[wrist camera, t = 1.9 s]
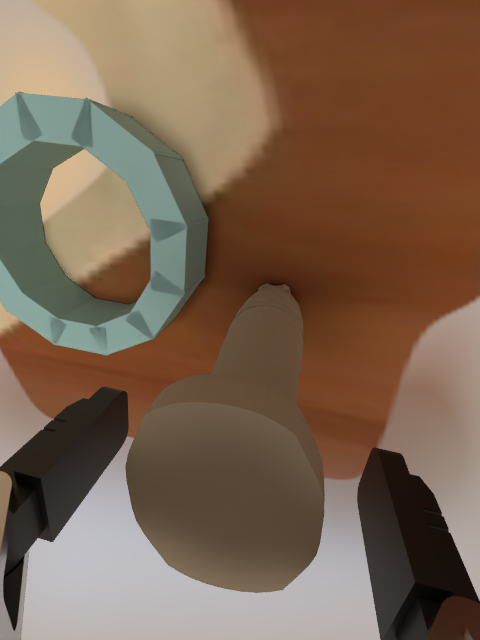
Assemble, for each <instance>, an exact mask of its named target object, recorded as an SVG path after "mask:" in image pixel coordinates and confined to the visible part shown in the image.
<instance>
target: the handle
mask: <svg viewBox="0 0 480 640" xmlns="http://www.w3.org/2000/svg"><path fill="white" fill-rule="evenodd" d="M303 347H304V344H303V322H302V315H301V311H300V306H299V303H298V302H297V301H296V300H295V299H294V297H293V296H292V295H291V292H290V288H289V287H288V286H287V285H285V284H282V285H279V286H274V285H270V284H268V283H266V284H264V285H262V286H260V287H259V289H258V292H256V293H254V294H253V295H252V296H251V297H250V298H249V299H248V300H247V301H246V302H245V303H244V304H243V306H242V307H241V308H240V310H239V311H238V313H237V314H236V316H235V318H234V320H233V321H232V323H231V325H230V327H229V330H228V332H227V335H226V337H225V340H224V343H223V345H222V348H221V350H220V353H219V356H218V358H217V361H216V363H215V366H214V368H213V371H212V373H211V374H202V375H194V376H189V377H186V378H184V379H181V380H178V381H176V382H174V383H172V384H170V385H169V386H167V387H165V388H164V389H163V391H162V392H161V393H160V394H159V396H158V397H157V398H156V400H155V401H154V403H153V404H152V405H151V407H150V408H149V410H148V411H147V412H146V414H145V416H144V418H143V420H142V422H141V425H140V427H139V429H138V431H137V433H136V436H135V438H134V440H133V443H132V445H131V448H130V450H129V453H128V457H127V462H126V478H127V485H128V489H129V495H130V500H131V505H132V509H133V512H134V515H135V518H136V521H137V523H138V524H139V526H140V528H141V529H142V531H143V533H144V534H145V535H146V537H147V538H148V540H149V541H150V542H151V543H152V545H153V546H154V548H155V549H156V550H157V551H158V553H159V554H160V555H161V557H162V558H163V559H164V560H165V562H166V563H167V564H168V565H169V566H171V567H172V568H174V569H175V570H177V571H179V572H181V573H183V574H184V575H186V576H188V577H190V578H193V579H195V580H198V581H201V582H203V583H206V584H210V585H213V586H217V587H221V588H225V589H230V590H236V591H242V592H255V593H259V592H272V591H277V590H283V589H284V588H285V587H286V586H287V585H288V584H289V583H291V582H292V581H293V580H294V579H295V578H296V577H297V576H298V575H299V574H300V573H301V572H302V571H303V570H305V569H306V568H307V567H308V566H309V564H310V563H311V562H312V560H313V559H314V557H315V556H316V554H317V551H318V547H319V544H320V539H321V532H322V525H323V517H324V476H323V463H322V459H321V457H320V454H319V451H318V448H317V445H316V442H315V440H314V438H313V435H312V433H311V431H310V428H309V426H308V424H307V422H306V420H305V418H304V416H303V414H302V412H301V410H300V409H299V407H298V405H297V403H296V397H297V390H298V382H299V375H300V368H301V361H302V354H303Z"/></svg>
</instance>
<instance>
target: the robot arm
mask: <svg viewBox="0 0 480 640" xmlns="http://www.w3.org/2000/svg"><path fill="white" fill-rule="evenodd" d="M127 433H128V397H127V393H126V392H125V391H122V390H117V389H113V388H108V387H102V388H100V389H99V390H98V391H97V392H96V393H95V394H94V395H93V396H92V397H91V398H89V399H84V398H83V399H81V400H79V401H77V402H75V403H73V404H71V405H69V406H67V407H66V408H65V409H64V410H63V411H62V412H61V413H59V414H58V415H57V416H56V417H55V418H54V420H52V421H51V422H49V423H48V424H47V425H46V426H45V427H44V429H43V430H41V431H40V432H38V434H36V435H35V436H34V437H33V438H32V439H31V440H29V442H27V443H26V444H25V445H24V446H23V447H22V448H21V449H20V450H18V451H17V452H16V453H15V454H14V455H13V456H12V457H11V458H9V459H8V460H7V461H6V462H5V463H4V464H3V465H2V466H1V467H0V640H21V630H22V620H23V619H22V618H23V610H24V598H25V589H26V579H27V568H28V558H29V552H28V550H29V549H30V547H31V545H32V544H33V543H34V542H35V541H36V539H37V538H41V539H44V540H47V541H50V542H53V541H54V540H55V538H56V537H57V535H58V534H59V533H60V531H61V530H62V529H63V527H64V526H65V524H66V523H67V522H68V520H69V519H70V517H71V516H72V515H73V513H74V512H75V511H76V509H77V508H78V506H79V505H80V504H81V502H82V501H83V499H84V498H85V497H86V495H87V494H88V493H89V491H90V490H91V488H92V487H93V485H94V484H95V483H96V481H97V480H98V478H99V477H100V476H101V474H102V473H103V471H104V470H105V469H106V467H107V466H108V465H109V463H110V462H111V461H112V459H113V458H114V457H115V455H116V454H117V452H118V451H119V450H120V448H121V447H122V445H123V443H124V441H125V439H126V437H127ZM357 501H358V509H359V515H360V521H361V527H362V532H363V539H364V545H365V551H366V556H367V562H368V568H369V574H370V580H371V586H372V592H373V598H374V604H375V609H376V615H377V621H378V627H379V633H380V639H381V640H480V601H479V599H478V596H477V594H476V592H475V590H474V587H473V585H472V582H471V581H470V578H469V576H468V573H467V571H466V568H465V566H464V564H463V561H462V559H461V557H460V554H459V552H458V550H457V548H456V545H455V543H454V540H453V538H452V536H451V534H450V533H449V532H448V526H447V524H446V522H445V519H444V517H443V516H442V515H441V514H442V512H441V510H440V508H439V506H438V503H437V501H436V498H435V496H434V494H433V493H432V491H431V490H430V489H429V488H428V486H427V485H426V484H425V483H424V482H423V480H422V479H421V478H420V477H419V476H415V475H410V473H409V471H408V468H407V465H406V463H405V460H404V458H403V456H402V454H400V453H396V452H392V451H388V450H383V449H379V448H373V449H372V450H371V453H370V455H369V458H368V461H367V463H366V466H365V469H364V471H363V474H362V477H361V480H360V483H359V486H358V496H357Z"/></svg>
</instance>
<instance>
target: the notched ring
mask: <svg viewBox="0 0 480 640" xmlns="http://www.w3.org/2000/svg"><path fill="white" fill-rule="evenodd" d="M83 149H86V150H87V151H88V152H89V153H91V154H92V155H94V156H95V157H96V158H97V159H98V160H100V161H101V162H102V163H104V164H105V165H106V166H107V167H109V168H110V169H111V170H112V171H114V172H115V173H116V174H117V175H119V176H120V177H121V178H123V179H124V180H125V181H126V183H127V185H128V187H129V189H130V191H131V193H132V195H133V197H134V199H135V201H136V203H137V205H138V207H139V209H140V211H141V213H142V215H143V217H144V219H145V221H146V223H147V225H148V227H149V229H150V231H151V280H150V282H149V283H148V285H147V287H146V288H145V290H144V291H143V293H142V295H141V296H140V298H139V299H138V301H136V302H134V303H131V304H129V305H128V304H123V303H117V302H112V301H106V300H101V299H96V298H94V297H93V296H92V295H90V294H89V293H87V292H86V291H85V290H83V289H82V288H81V287H79V286H78V285H77V284H75V283H74V282H73V281H71V280H70V279H68V278H67V277H66V276H65V274H64V273H63V271H62V269H61V268H60V266H59V264H58V263H57V261H56V259H55V258H54V256H53V254H52V253H51V251H50V250H49V248H48V246H47V245H46V243H45V237H44V229H43V222H42V216H41V208H40V202H41V199H42V196H43V194H44V191H45V188H46V186H47V183H48V180H49V178H50V175H51V172H52V170H53V168H55V167H56V166H58V165H59V164H61V163H62V162H64V161H65V160H67V159H69V158H70V157H72V156H73V155H75V154H77V153H78V152H80V151H81V150H83ZM183 160H184V159H182V157H181V156H179V155H177V154H176V153H175V152H174V151H172V150H171V149H170V148H169V147H167V146H166V145H165V144H164V143H163V142H161V141H160V140H159V139H158V138H156V137H155V136H154V135H153V134H151V133H150V132H149V131H148V130H146V129H145V128H144V127H143V126H142V125H140V124H139V123H138V122H137V121H135V120H134V119H133V118H132V116H129V115H127V114H125V113H122V112H120V111H117V110H115V109H112V108H110V107H107V106H105V105H102V104H100V103H97V102H95V101H92V100H90V99H87V98H85V99H77V98H67V97H56V96H46V95H35V94H25V93H22V92H18V93H15V95H14V96H13V97H12V98H10V99H9V100H8V101H6V102H5V103H4V104H2V105H1V106H0V302H1V303H2V305H3V306H4V308H5V310H6V311H7V312H10V313H11V314H12V315H14V316H15V317H17V318H18V319H19V320H21V321H22V322H24V323H25V324H26V325H28V326H29V327H31V328H32V329H33V330H35V331H36V332H38V333H39V334H41V335H42V336H43V337H45V338H46V339H48V340H49V341H50V342H52V343H53V344H55V345H60V346H65V347H69V348H74V349H79V350H84V351H89V352H94V353H98V354H103V355H109V354H111V353H114V352H117V351H120V350H122V349H125V348H128V347H131V346H134V345H137V344H140V343H143V342H146V341H148V340H153V339H154V338H155V337H156V336H157V335H158V334H159V333H160V332H161V331H162V330H163V329H164V328H165V327H166V326H167V325H168V324H169V323H170V322H171V321H172V320H173V319H174V318H175V317H176V316H177V315H178V313H179V311H180V310H181V309H182V307H183V306H184V304H185V303H186V302H187V300H188V299H189V297H190V296H191V295H192V293H193V292H194V290H195V289H196V288H197V286H198V285H199V283H200V282H201V281H202V280H203V279H204V278H205V263H206V248H207V233H208V221H209V219H208V218H209V217H207V214H206V212H205V210H204V208H203V205H202V203H201V201H200V198H199V196H198V194H197V192H196V189H195V187H194V185H193V182H192V180H191V178H190V175H189V173H188V171H187V169H186V166H185V164H184V162H183Z"/></svg>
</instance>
